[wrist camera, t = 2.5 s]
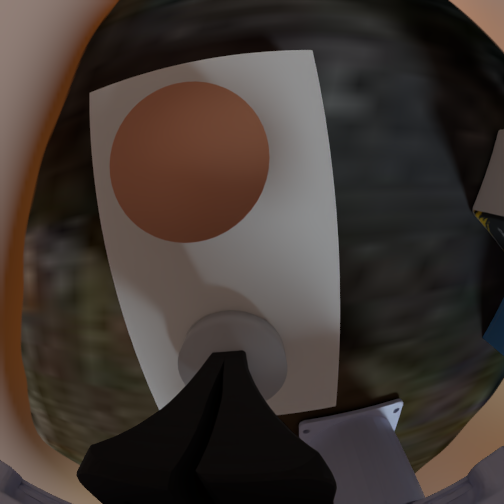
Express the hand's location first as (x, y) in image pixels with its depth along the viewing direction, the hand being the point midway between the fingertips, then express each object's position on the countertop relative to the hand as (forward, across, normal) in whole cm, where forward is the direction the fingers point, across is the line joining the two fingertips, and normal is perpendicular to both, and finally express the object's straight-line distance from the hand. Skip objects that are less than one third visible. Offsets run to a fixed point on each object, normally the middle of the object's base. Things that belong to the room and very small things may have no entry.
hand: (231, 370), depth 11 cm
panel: (+4, 0, -4) cm, 6 cm away
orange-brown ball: (+2, 0, -8) cm, 8 cm away
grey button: (+4, 0, 0) cm, 4 cm away
